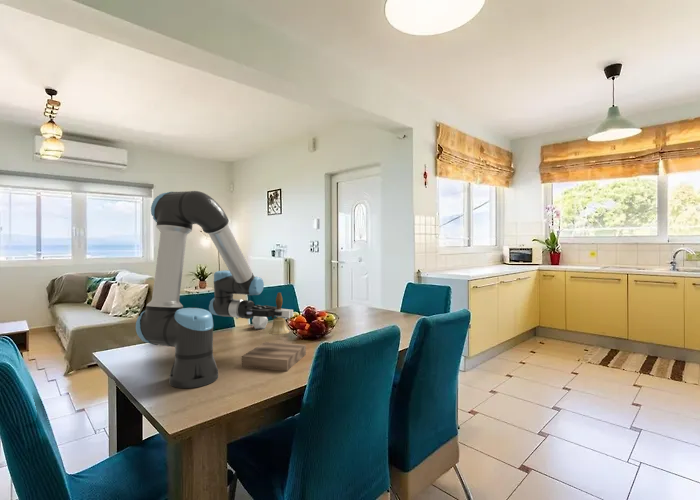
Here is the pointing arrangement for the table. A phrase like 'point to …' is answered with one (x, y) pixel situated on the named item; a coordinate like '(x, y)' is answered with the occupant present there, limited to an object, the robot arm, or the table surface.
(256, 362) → the walnut plinth
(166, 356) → the table surface
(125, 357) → the table surface
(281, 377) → the table surface
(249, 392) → the table surface
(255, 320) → the die
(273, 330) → the hand bell
